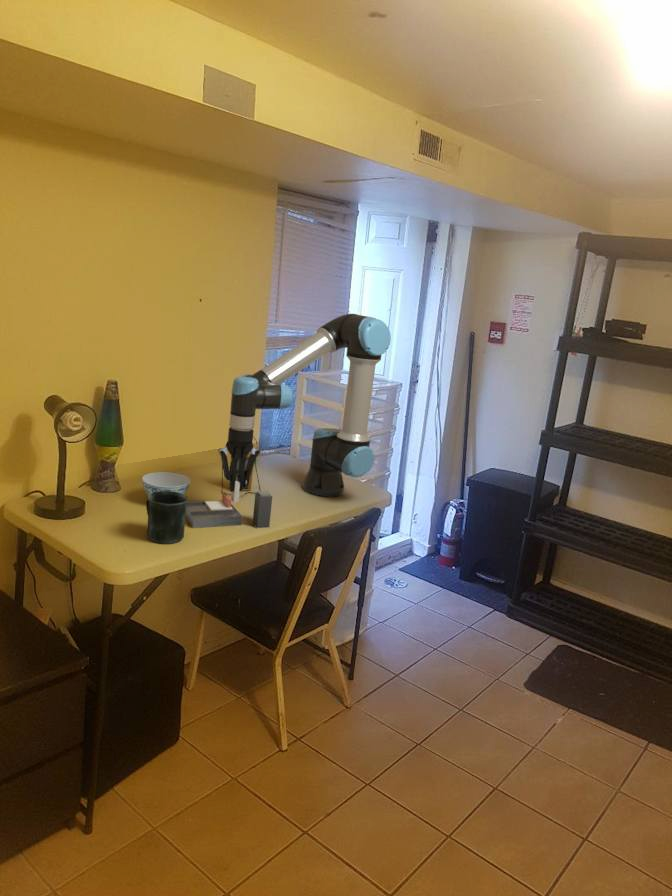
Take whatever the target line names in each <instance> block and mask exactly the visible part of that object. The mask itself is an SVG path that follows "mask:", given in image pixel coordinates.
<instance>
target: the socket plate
mask: <svg viewBox="0 0 672 896" xmlns="http://www.w3.org/2000/svg"><path fill="white" fill-rule="evenodd" d="M205 501H206V500H201V501H199V500H198V501H187V502H186V513H185V520H186V521H187V522H188V523H189V524H190V526H191V527H192V529H198V528H200V529H201V528H215V527H230V526H231V527H233V526H241V525H242V523H243V522H242V521H243V515H242V514H241V513H240V511H238V510H237V508H236V507H235V506H234V505H233V504H232V503H231V507H232V508H233V509H229V510H209V508H208V507H207V506H206V505H205ZM218 501H222V499H220V500H218Z"/></svg>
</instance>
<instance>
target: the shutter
mask: <svg viewBox="0 0 672 896" xmlns="http://www.w3.org/2000/svg"><path fill="white" fill-rule="evenodd" d="M221 500H222V501H219V500H204V501H205V505H206V506H207V507H208V508H209V510H229V509H233V508H232V507H231V504H232V500H231V497H229V496H228V494H224V493H221Z"/></svg>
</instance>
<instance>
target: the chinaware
mask: <svg viewBox="0 0 672 896" xmlns="http://www.w3.org/2000/svg"><path fill="white" fill-rule="evenodd" d="M141 482H142V487H143V490H144V491H145V492H146V494H147V496H148V495H149V494H151V493H154V492H159V491H172V492H178V493H181V494H183V495H186V493H187V491H188V489H189V487H190V483H191V479H190V477H188V476H187V475H185V474H181V473H176V472H169V471H168V472H167V471H159V472H158V471H157V472H149V473H147V474H145V475H143V476H142V478H141Z"/></svg>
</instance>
